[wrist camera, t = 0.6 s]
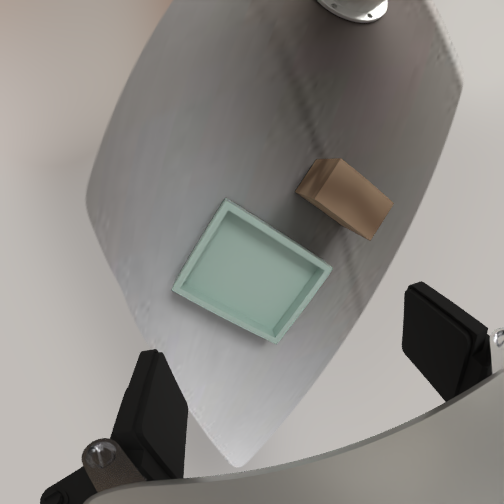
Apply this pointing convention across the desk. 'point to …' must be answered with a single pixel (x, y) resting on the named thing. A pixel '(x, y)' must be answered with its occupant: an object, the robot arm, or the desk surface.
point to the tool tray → (250, 273)
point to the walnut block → (345, 196)
